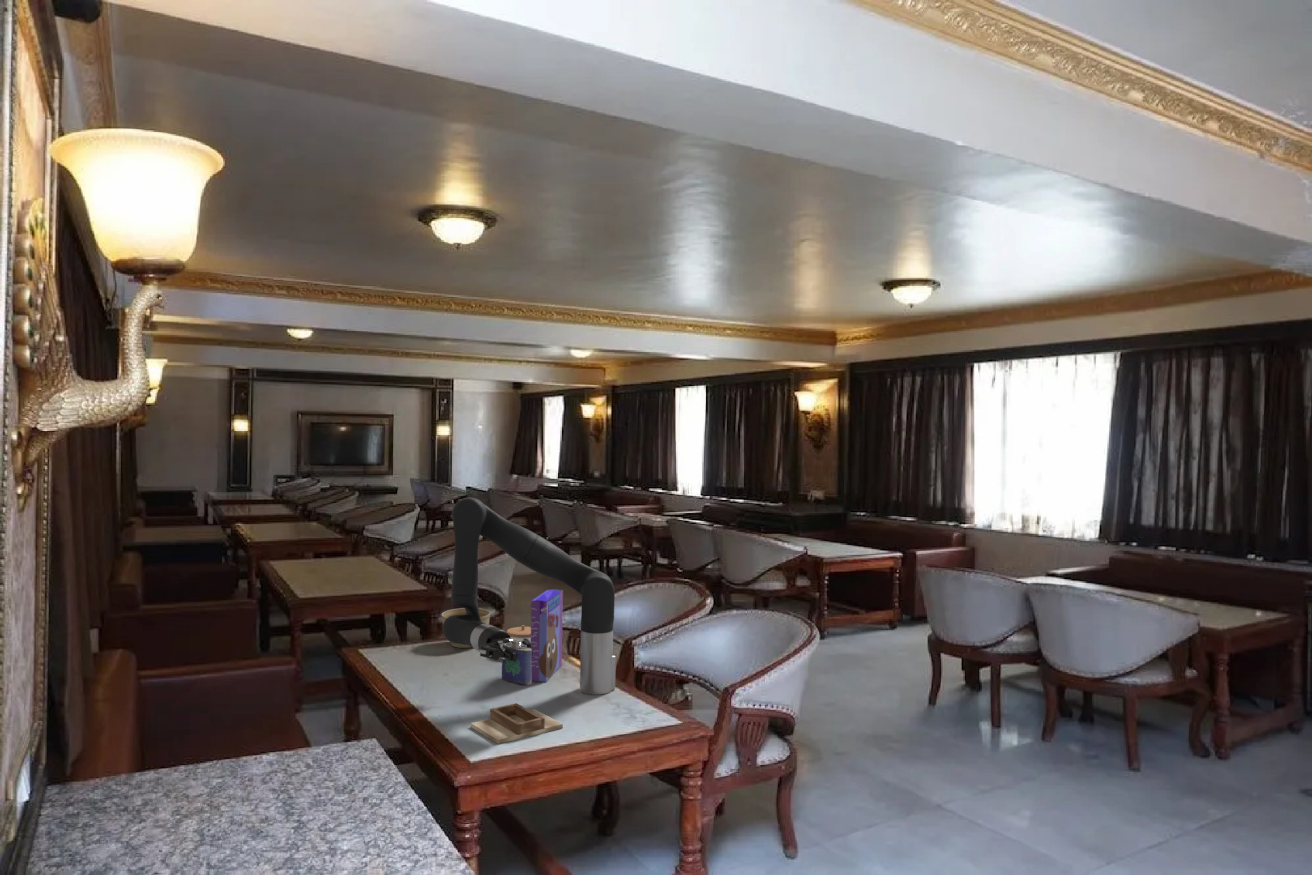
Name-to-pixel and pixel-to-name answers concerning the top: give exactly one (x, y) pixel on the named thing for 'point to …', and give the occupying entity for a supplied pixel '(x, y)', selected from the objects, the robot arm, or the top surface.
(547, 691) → the top surface
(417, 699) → the top surface
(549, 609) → the cereal box
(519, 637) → the lidded jar
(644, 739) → the top surface
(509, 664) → the flask
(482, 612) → the planter bowl
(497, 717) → the slot board
